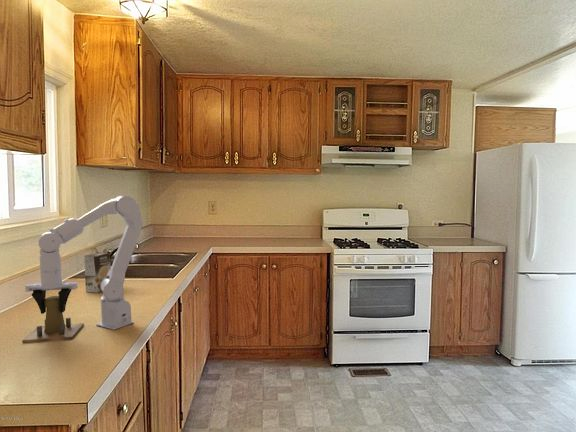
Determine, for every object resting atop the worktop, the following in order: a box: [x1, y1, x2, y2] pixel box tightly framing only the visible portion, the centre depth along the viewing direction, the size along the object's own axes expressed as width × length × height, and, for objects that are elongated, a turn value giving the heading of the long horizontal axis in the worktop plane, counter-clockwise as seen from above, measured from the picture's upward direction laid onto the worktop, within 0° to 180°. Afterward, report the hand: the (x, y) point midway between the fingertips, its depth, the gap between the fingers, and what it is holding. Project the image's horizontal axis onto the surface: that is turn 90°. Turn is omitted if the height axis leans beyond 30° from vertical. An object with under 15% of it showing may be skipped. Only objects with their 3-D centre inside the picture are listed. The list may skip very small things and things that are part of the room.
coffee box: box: [83, 252, 111, 293], centre depth 184 cm, size 9×6×16 cm
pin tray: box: [22, 317, 85, 344], centre depth 132 cm, size 14×12×4 cm
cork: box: [44, 295, 66, 334], centre depth 133 cm, size 6×6×11 cm
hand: (53, 312), depth 132 cm, fingers closed on cork, 5 cm apart
